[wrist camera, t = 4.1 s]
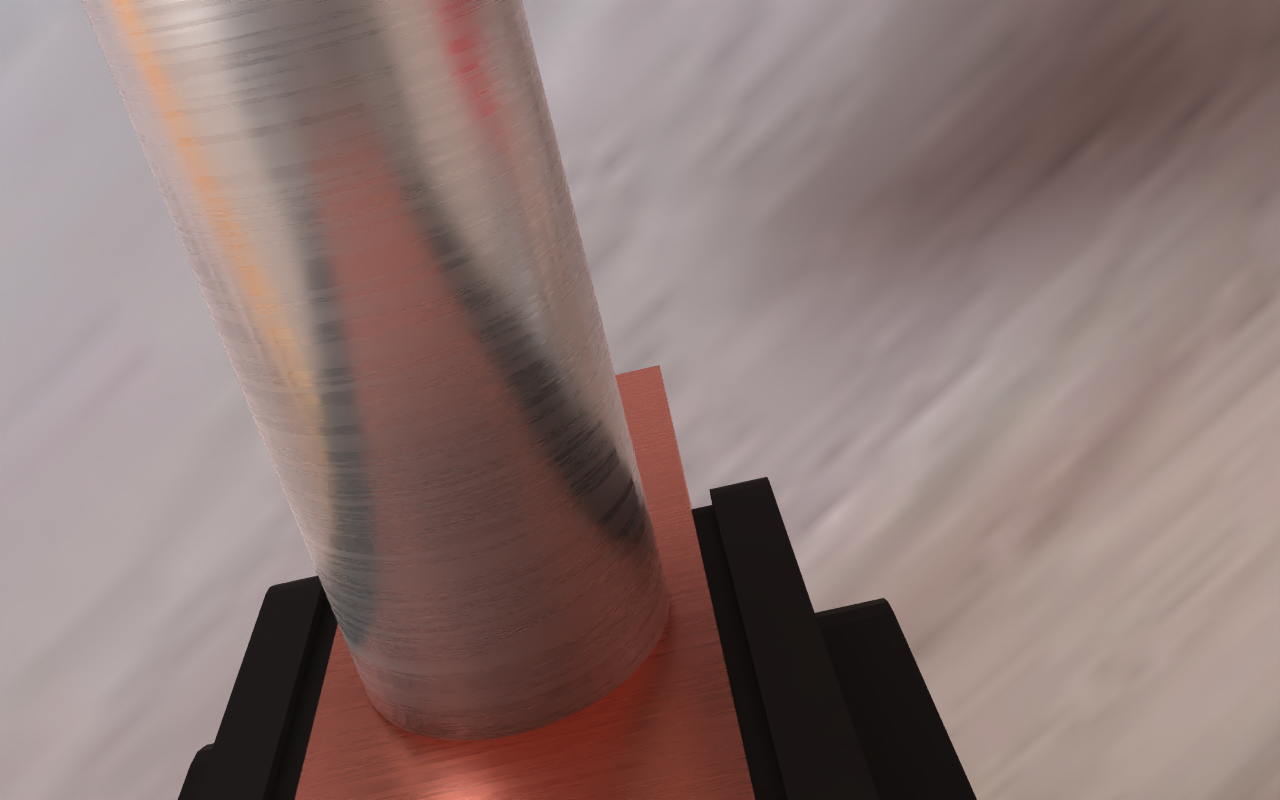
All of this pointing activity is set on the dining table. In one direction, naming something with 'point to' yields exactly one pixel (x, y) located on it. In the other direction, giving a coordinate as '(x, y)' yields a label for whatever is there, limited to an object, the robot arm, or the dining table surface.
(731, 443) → the dining table surface
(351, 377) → the shaft
